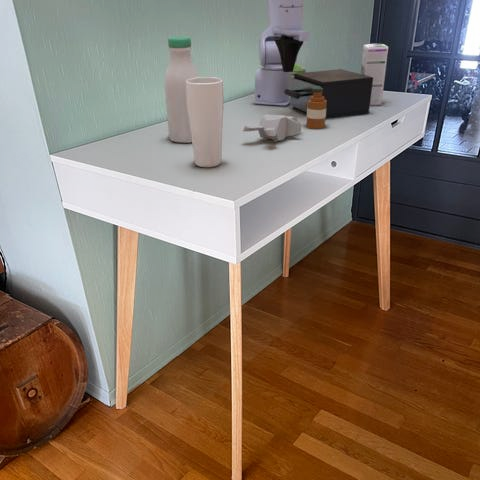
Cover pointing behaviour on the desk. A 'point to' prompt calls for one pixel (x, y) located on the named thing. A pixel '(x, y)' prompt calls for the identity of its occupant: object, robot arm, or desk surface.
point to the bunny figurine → (276, 127)
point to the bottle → (316, 110)
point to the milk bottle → (178, 88)
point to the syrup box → (375, 69)
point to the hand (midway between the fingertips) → (287, 71)
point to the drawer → (300, 93)
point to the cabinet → (341, 91)
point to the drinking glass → (205, 119)
